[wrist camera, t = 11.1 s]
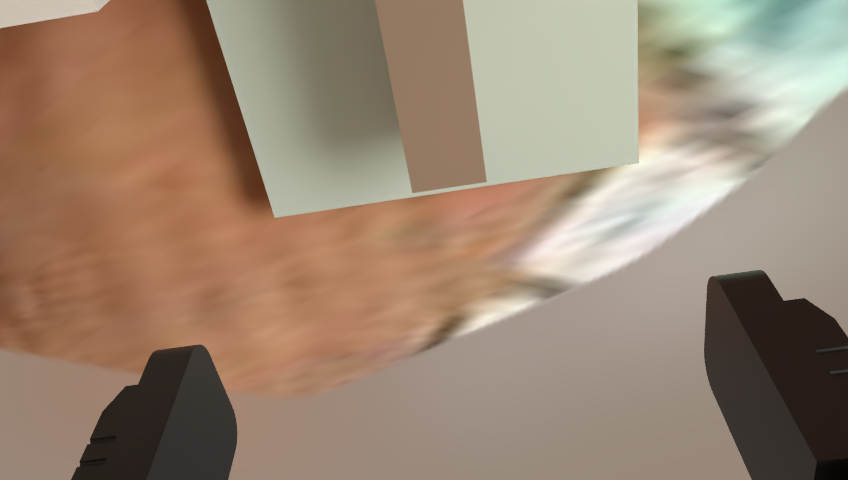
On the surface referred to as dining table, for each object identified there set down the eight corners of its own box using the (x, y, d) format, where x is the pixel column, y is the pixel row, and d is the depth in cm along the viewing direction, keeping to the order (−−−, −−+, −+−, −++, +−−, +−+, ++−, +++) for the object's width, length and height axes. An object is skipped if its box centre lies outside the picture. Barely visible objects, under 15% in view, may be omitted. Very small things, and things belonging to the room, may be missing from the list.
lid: (618, -283, 24) (688, -289, 18) (625, 139, 33) (675, 229, 27) (164, -196, 25) (90, -176, 19) (281, 191, 34) (255, 290, 28)
